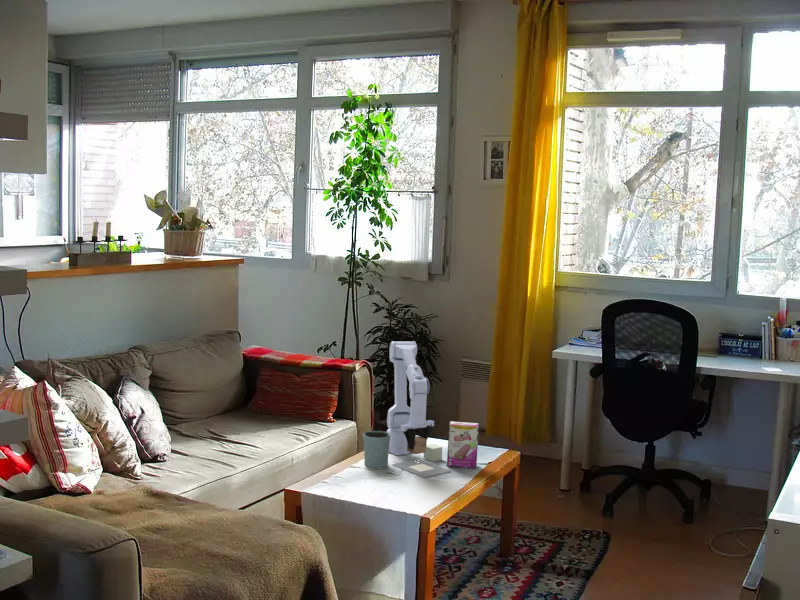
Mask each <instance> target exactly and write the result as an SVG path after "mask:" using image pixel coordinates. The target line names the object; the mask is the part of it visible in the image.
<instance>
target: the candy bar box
mask: <svg viewBox="0 0 800 600" xmlns="http://www.w3.org/2000/svg"><path fill="white" fill-rule="evenodd" d="M479 425H480V424H479V423H477V422H464V421H462V422H461V421H451V420H450V421H449V424H448V438H447V439H448V442H447V454H446V456H447V457H446V467H449V466H455V467H454V468H462V467H467V468H466V469H477V463H478V461H477V460H478V449H479V448H478V447H479V446H478V445H479V444H478V443H479V429H480V428H479V427H480V426H479Z"/></svg>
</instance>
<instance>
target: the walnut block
mask: <svg viewBox="0 0 800 600" xmlns="http://www.w3.org/2000/svg"><path fill="white" fill-rule="evenodd" d="M427 441H428V439H425V438H423V437H420V435H416V436H415V440H414V448H413V450H412V449H409V448H408V443H407V451H408V452H411V453H410V454H414V455H420V454H424V453H425V452H426V445H427V444H428V443H427Z"/></svg>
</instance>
